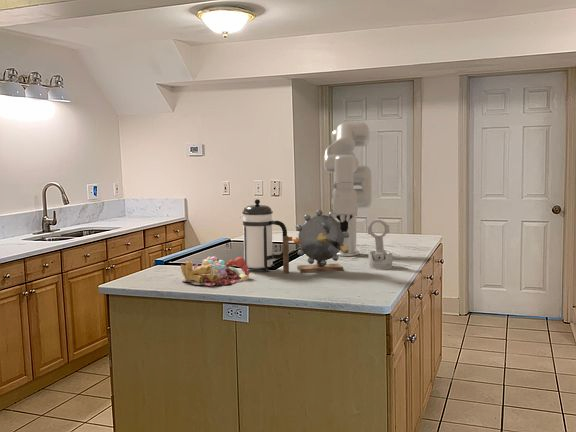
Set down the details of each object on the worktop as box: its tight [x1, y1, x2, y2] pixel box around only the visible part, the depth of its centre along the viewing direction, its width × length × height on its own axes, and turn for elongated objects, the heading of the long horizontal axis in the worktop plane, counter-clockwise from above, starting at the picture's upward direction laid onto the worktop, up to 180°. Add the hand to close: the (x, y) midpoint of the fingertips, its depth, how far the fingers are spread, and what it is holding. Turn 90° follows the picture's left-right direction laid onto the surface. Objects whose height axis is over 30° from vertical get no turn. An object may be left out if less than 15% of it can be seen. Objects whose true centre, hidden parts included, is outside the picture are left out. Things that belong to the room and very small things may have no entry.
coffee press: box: [239, 198, 288, 273], centre depth 252 cm, size 17×16×30 cm
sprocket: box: [292, 209, 349, 266], centre depth 243 cm, size 23×11×23 cm
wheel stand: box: [282, 235, 344, 274], centre depth 250 cm, size 25×8×15 cm, turn 101°
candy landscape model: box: [180, 256, 250, 287], centre depth 235 cm, size 25×24×9 cm
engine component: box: [366, 218, 393, 270], centre depth 255 cm, size 11×20×10 cm
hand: (344, 231), depth 243 cm, fingers closed
